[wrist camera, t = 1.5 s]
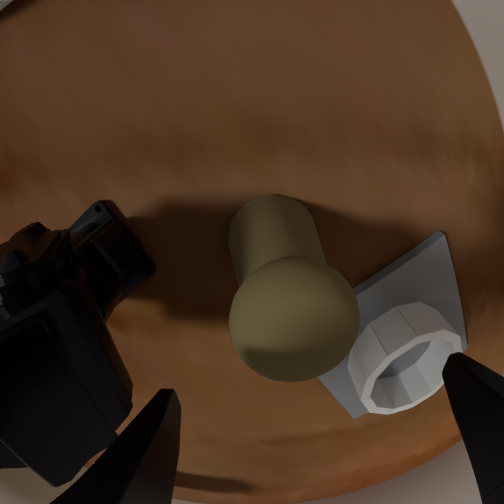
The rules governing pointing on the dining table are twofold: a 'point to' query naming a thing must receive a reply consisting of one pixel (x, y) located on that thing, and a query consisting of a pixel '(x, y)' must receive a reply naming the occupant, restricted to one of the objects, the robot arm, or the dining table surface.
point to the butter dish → (4, 3)
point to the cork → (287, 293)
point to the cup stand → (402, 333)
